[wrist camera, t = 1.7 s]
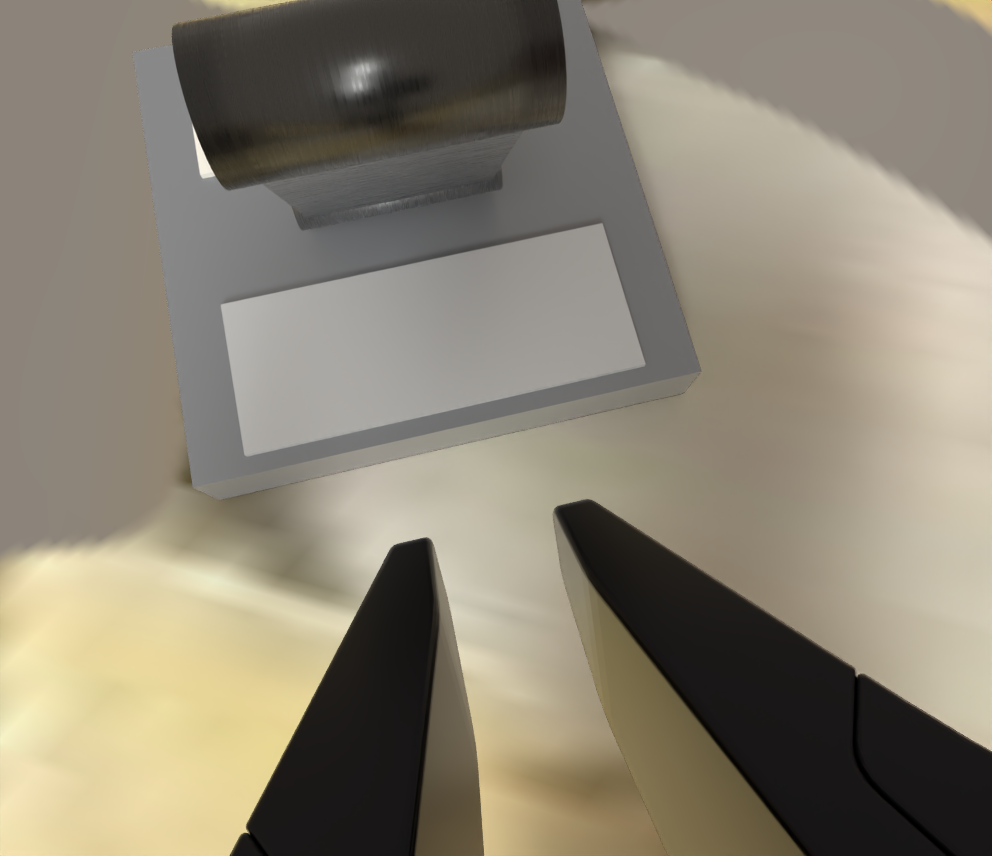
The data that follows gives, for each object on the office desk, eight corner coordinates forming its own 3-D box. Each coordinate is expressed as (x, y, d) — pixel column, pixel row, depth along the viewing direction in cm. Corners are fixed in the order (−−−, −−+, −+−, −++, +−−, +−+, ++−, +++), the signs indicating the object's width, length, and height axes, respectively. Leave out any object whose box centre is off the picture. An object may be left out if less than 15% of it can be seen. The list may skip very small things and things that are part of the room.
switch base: (683, 393, 23) (704, 367, 20) (219, 500, 22) (188, 485, 20) (564, 17, 26) (571, -40, 24) (159, 96, 25) (127, 44, 23)
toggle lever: (499, 201, 22) (583, 101, 11) (308, 240, 22) (198, 179, 11) (481, 115, 22) (550, -77, 11) (287, 155, 21) (149, -3, 10)
